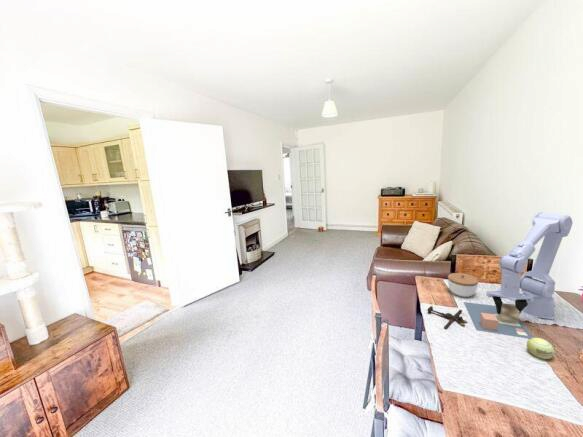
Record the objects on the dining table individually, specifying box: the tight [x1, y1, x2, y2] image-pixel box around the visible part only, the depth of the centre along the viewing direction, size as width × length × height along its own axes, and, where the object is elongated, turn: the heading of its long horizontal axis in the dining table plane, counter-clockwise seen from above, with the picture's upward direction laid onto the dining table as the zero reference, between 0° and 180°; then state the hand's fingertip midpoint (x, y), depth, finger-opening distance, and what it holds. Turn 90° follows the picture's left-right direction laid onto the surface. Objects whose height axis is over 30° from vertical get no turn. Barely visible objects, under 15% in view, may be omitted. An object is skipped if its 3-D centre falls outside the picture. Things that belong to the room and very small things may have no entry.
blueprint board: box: [463, 301, 535, 340], centre depth 104 cm, size 18×22×1 cm
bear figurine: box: [427, 305, 468, 330], centre depth 107 cm, size 18×4×14 cm
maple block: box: [498, 302, 521, 322], centre depth 101 cm, size 6×6×4 cm
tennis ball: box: [526, 337, 555, 360], centre depth 83 cm, size 6×7×7 cm
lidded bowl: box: [447, 272, 479, 298], centre depth 124 cm, size 13×13×11 cm
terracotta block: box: [480, 313, 498, 331], centre depth 98 cm, size 4×4×4 cm
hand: (507, 314), depth 101 cm, fingers closed on maple block, 5 cm apart
